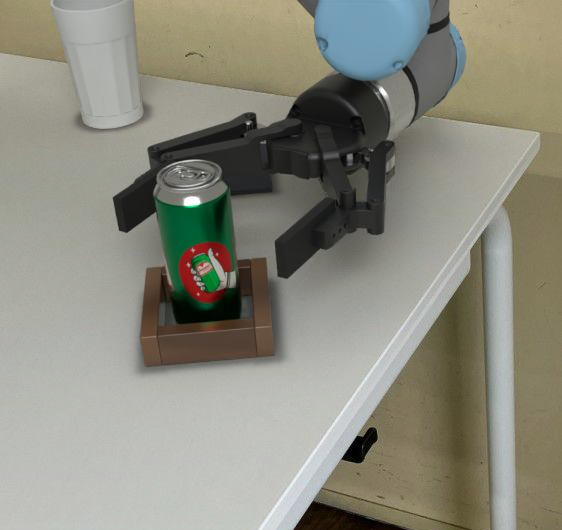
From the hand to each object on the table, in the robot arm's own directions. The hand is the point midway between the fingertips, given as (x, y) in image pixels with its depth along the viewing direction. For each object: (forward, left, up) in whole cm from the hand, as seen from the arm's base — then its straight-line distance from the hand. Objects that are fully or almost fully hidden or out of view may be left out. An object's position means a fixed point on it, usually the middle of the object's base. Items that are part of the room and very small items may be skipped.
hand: (196, 237), depth 68 cm
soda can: (0, 0, -8) cm, 8 cm away
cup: (-39, -10, -8) cm, 41 cm away
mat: (-24, +1, -7) cm, 25 cm away
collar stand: (0, 0, -7) cm, 7 cm away
